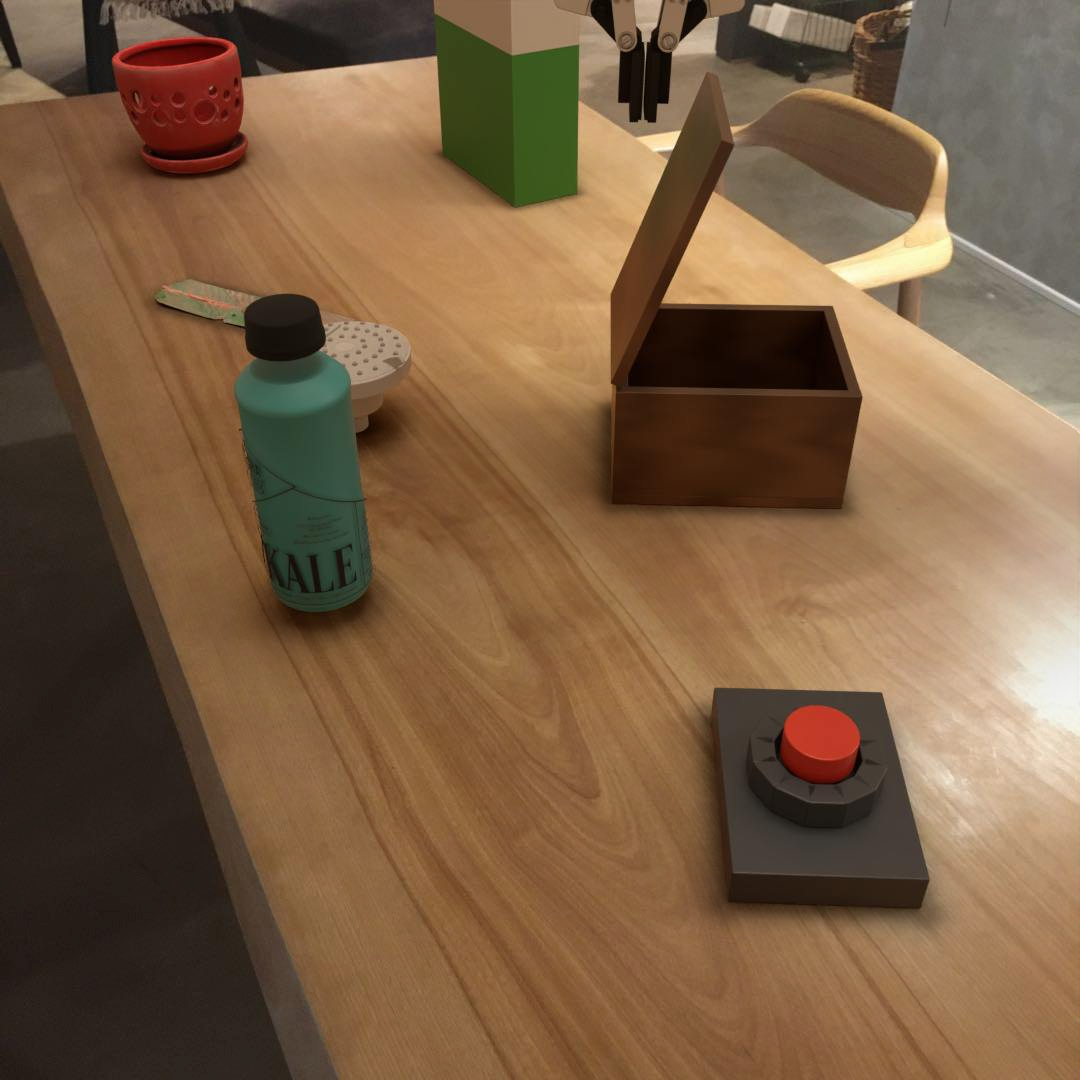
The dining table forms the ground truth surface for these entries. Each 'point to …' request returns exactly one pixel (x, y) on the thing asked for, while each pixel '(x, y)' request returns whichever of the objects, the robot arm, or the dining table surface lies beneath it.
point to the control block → (813, 808)
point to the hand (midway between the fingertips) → (642, 114)
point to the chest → (736, 409)
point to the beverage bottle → (303, 457)
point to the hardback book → (510, 94)
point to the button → (819, 744)
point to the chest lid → (669, 224)
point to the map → (218, 302)
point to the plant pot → (184, 102)
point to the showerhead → (368, 362)
